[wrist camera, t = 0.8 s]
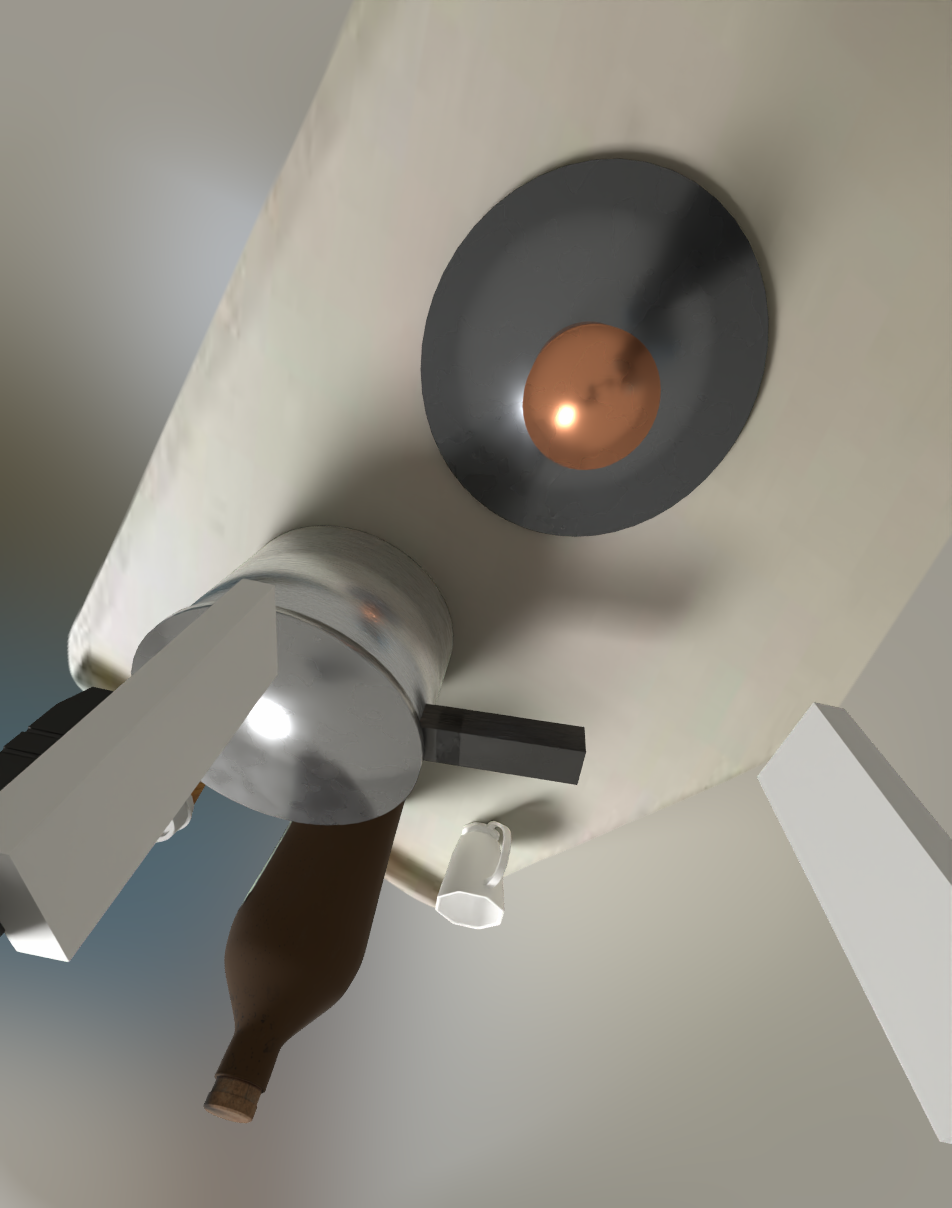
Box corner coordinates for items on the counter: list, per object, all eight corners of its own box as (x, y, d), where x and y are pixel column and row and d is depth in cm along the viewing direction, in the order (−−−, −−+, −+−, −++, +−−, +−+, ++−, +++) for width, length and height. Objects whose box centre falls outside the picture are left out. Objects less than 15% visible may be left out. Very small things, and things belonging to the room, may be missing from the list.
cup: (438, 835, 54) (421, 910, 47) (482, 791, 49) (469, 869, 42) (491, 859, 55) (482, 937, 48) (539, 819, 50) (536, 900, 43)
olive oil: (408, 751, 47) (287, 1108, 26) (417, 816, 53) (323, 1154, 32) (307, 740, 48) (115, 1070, 27) (326, 805, 54) (179, 1120, 33)
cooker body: (598, 552, 33) (616, 659, 23) (558, 737, 43) (558, 868, 33) (218, 508, 36) (84, 587, 26) (263, 692, 46) (179, 801, 36)
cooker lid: (826, 172, 22) (943, 112, 15) (698, 545, 32) (735, 608, 25) (424, 156, 24) (371, 96, 17) (424, 514, 34) (391, 565, 27)
